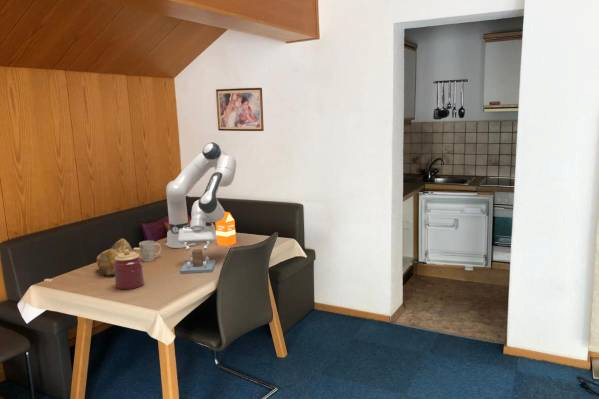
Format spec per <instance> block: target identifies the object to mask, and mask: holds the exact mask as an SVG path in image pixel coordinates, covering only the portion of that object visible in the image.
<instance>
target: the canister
mask: <svg viewBox="0 0 599 399" xmlns="http://www.w3.org/2000/svg"><path fill="white" fill-rule="evenodd" d="M142 262H143V259H142V257H140V254H139V253H138V252H136V251H133V252H130V251H129V250H128V249H126V250H124V253H120V254H118V255H117V256H116V257H115V261H114V262H113V264H114V265H115V269H114V272H115V275H114V280H115V282H114V283H115V286H116V288H117V289H119V290H132V289H136V288H140V287H141V286H143V285H144V284H145V278H144V271H143V265H142Z"/></svg>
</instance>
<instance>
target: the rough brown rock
mask: <svg viewBox="0 0 599 399" xmlns="http://www.w3.org/2000/svg"><path fill="white" fill-rule="evenodd" d="M126 249H128V250H129V251H130V252H134V251H133V249H132V246H131V245H130V243H129V241H127V240H126V239H125V238H123V237H122V238H120V239H119V240H118V241H115V242H114V244H113V245H112V246H111V247H110V248H109V249H106V250H104V251H102V252H101V253H99V254H98V255H97V256H96V264H97V267H98V270H100V273H101V274H102V275H103V276H115V272H114V269H115V265H114V264H113V262H114V261H115V257H116V256H117V255H118V254H120V253H124V250H126Z"/></svg>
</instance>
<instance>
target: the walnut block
mask: <svg viewBox="0 0 599 399" xmlns="http://www.w3.org/2000/svg"><path fill="white" fill-rule="evenodd" d="M203 255H204V254H203V249H202V248H197V249H196V248H194V249H192V250H191V257H192V259H193V267H198V266H202V265H203V260H204V258H203Z"/></svg>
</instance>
